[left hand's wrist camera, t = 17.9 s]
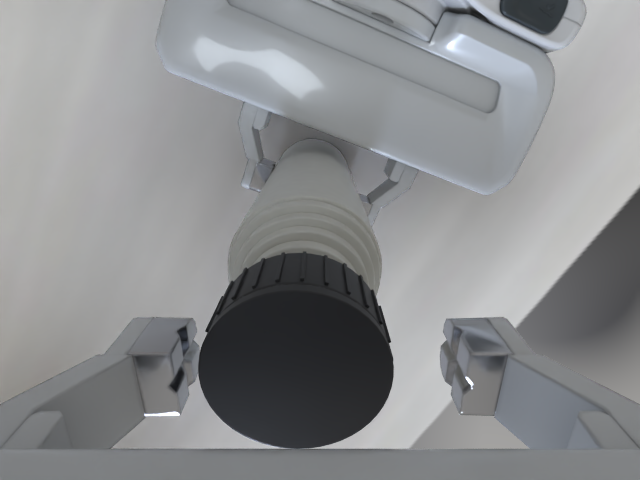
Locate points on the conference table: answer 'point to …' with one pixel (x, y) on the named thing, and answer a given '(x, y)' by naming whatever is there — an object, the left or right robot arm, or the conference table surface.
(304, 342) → the cap
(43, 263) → the conference table surface
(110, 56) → the conference table surface
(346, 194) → the bottle
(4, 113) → the conference table surface
